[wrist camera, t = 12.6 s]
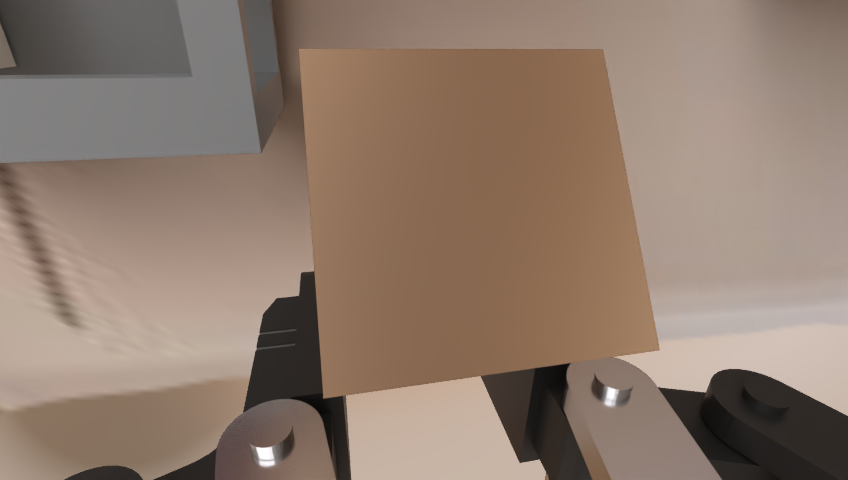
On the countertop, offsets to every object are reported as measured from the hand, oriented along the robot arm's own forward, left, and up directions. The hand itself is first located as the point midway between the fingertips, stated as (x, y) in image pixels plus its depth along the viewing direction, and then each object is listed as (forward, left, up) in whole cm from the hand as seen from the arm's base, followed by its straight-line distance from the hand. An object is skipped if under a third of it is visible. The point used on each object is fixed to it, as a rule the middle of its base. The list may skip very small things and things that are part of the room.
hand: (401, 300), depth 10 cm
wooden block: (0, +4, -7) cm, 8 cm away
